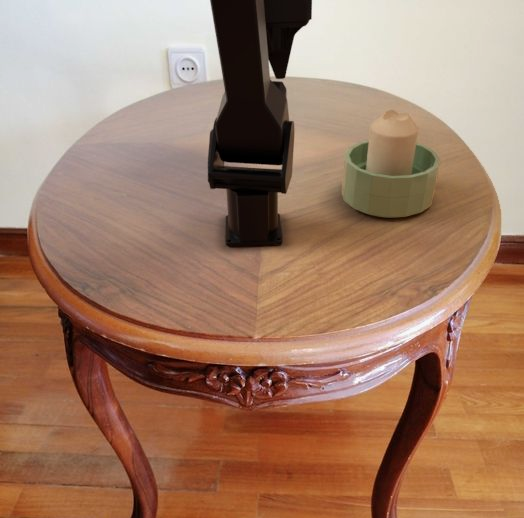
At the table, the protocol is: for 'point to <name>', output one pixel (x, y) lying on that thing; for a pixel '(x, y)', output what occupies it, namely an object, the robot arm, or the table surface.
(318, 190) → the table surface
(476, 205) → the table surface
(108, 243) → the table surface
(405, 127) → the candle
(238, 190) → the robot arm
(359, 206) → the green pet bowl
